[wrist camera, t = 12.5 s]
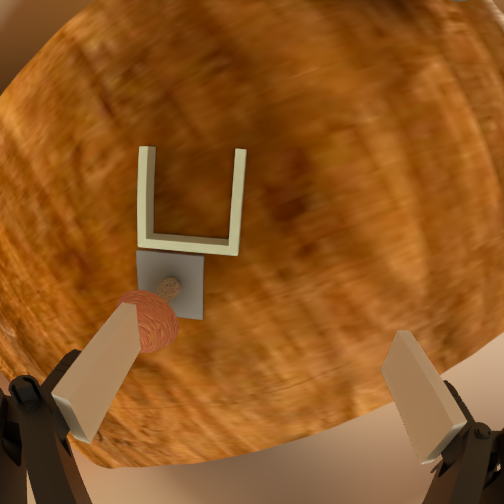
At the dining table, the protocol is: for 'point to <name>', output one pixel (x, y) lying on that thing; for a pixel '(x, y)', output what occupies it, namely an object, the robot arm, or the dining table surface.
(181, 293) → the coaster
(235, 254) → the cream u-shaped piece
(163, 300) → the mushroom
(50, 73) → the dining table surface
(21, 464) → the robot arm
